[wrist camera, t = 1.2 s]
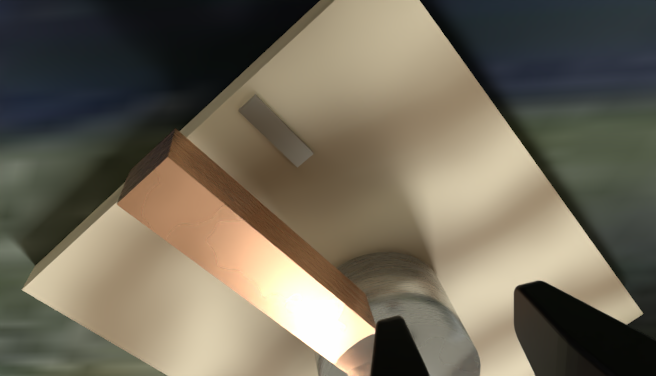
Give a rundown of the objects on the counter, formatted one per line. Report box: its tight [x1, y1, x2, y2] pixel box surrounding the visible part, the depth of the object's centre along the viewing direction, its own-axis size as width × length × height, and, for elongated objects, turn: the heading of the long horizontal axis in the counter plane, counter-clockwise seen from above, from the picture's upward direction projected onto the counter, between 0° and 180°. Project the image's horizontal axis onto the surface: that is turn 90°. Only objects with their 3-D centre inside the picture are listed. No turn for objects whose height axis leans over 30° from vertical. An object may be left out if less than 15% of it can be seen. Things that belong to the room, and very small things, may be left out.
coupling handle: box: [117, 128, 481, 376], centre depth 19 cm, size 15×6×4 cm, turn 40°
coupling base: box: [22, 0, 643, 376], centre depth 24 cm, size 22×18×2 cm
